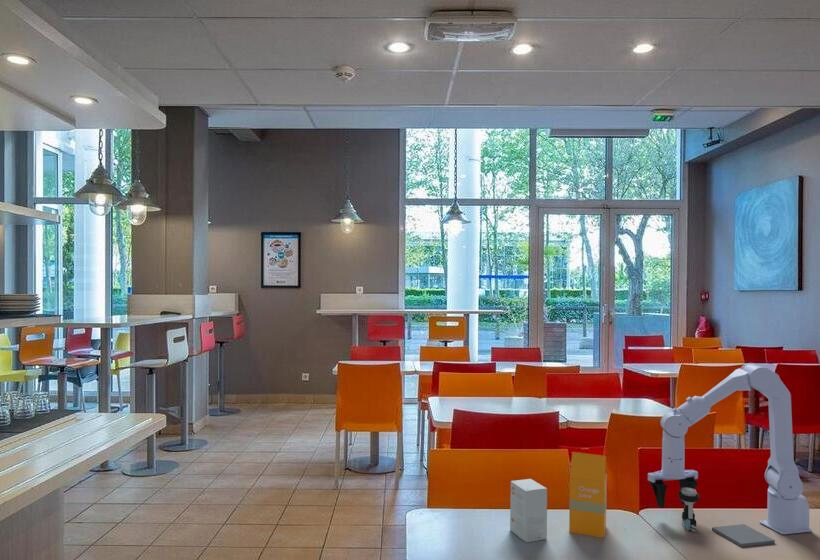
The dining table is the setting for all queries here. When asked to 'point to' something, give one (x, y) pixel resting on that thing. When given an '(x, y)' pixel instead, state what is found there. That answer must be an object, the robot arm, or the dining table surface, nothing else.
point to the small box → (528, 510)
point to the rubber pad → (743, 535)
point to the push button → (688, 507)
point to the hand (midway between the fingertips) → (672, 505)
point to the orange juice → (588, 494)
